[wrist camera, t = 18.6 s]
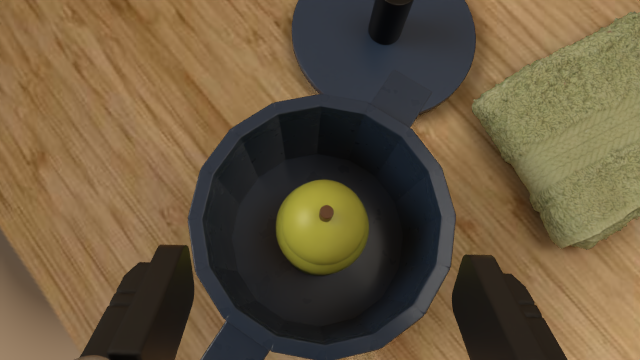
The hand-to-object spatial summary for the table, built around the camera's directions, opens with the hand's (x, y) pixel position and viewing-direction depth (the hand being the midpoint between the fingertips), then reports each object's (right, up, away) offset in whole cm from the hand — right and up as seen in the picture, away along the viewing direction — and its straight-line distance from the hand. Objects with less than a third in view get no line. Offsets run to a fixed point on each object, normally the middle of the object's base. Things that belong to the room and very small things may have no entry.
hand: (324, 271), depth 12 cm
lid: (+5, +13, +19) cm, 23 cm away
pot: (0, -1, +16) cm, 16 cm away
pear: (0, -1, +15) cm, 15 cm away
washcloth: (+20, +7, +18) cm, 28 cm away
